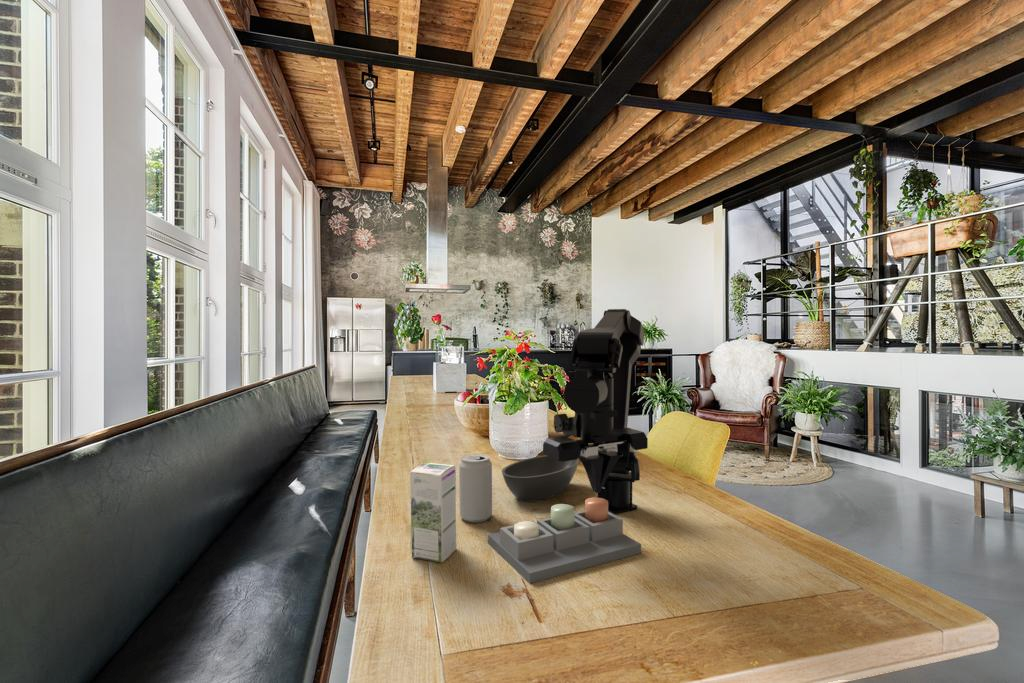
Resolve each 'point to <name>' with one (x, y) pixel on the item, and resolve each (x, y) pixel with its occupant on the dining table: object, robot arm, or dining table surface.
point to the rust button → (596, 510)
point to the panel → (564, 547)
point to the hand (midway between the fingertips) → (596, 492)
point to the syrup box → (433, 511)
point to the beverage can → (475, 487)
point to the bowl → (539, 477)
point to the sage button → (562, 517)
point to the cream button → (526, 530)
